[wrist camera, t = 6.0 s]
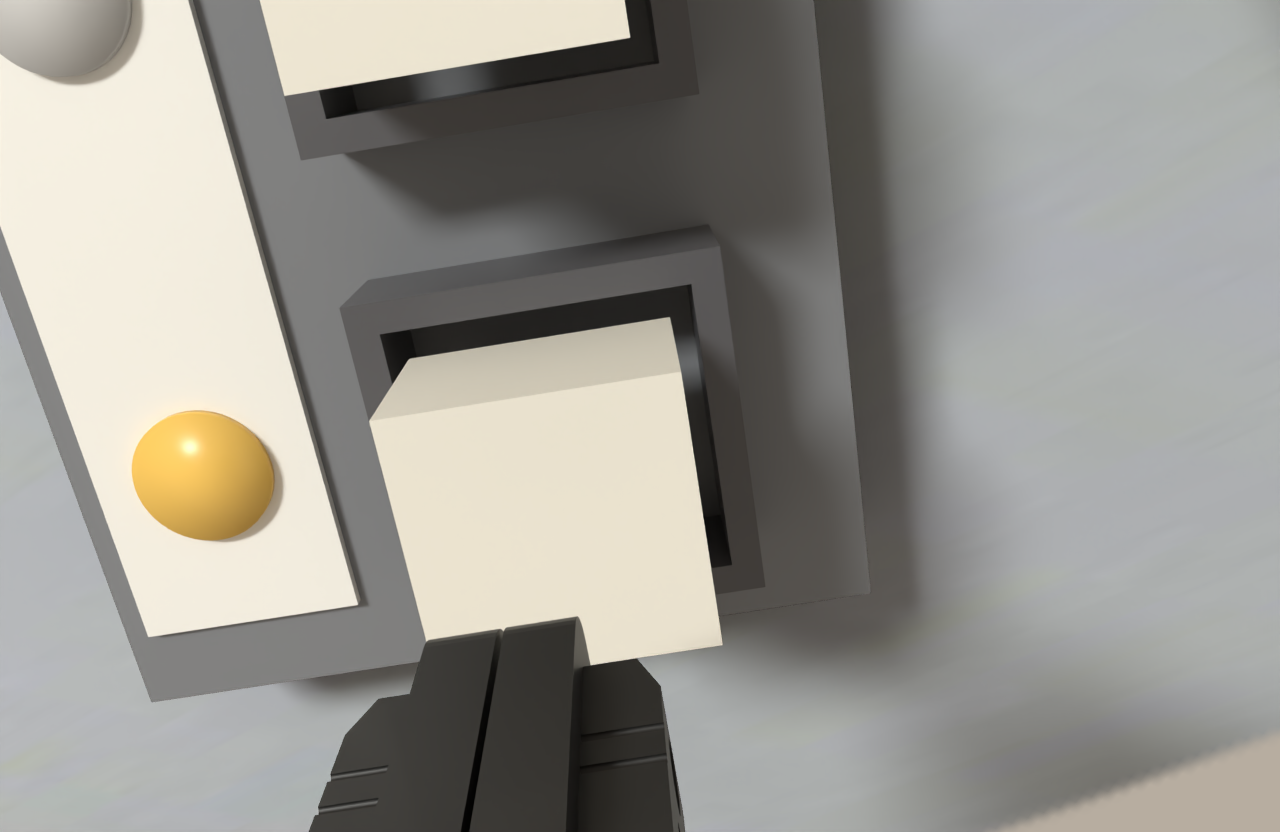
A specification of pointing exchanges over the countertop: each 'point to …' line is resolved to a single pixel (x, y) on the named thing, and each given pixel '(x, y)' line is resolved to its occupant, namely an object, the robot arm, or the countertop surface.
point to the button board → (404, 298)
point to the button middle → (423, 35)
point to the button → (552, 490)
